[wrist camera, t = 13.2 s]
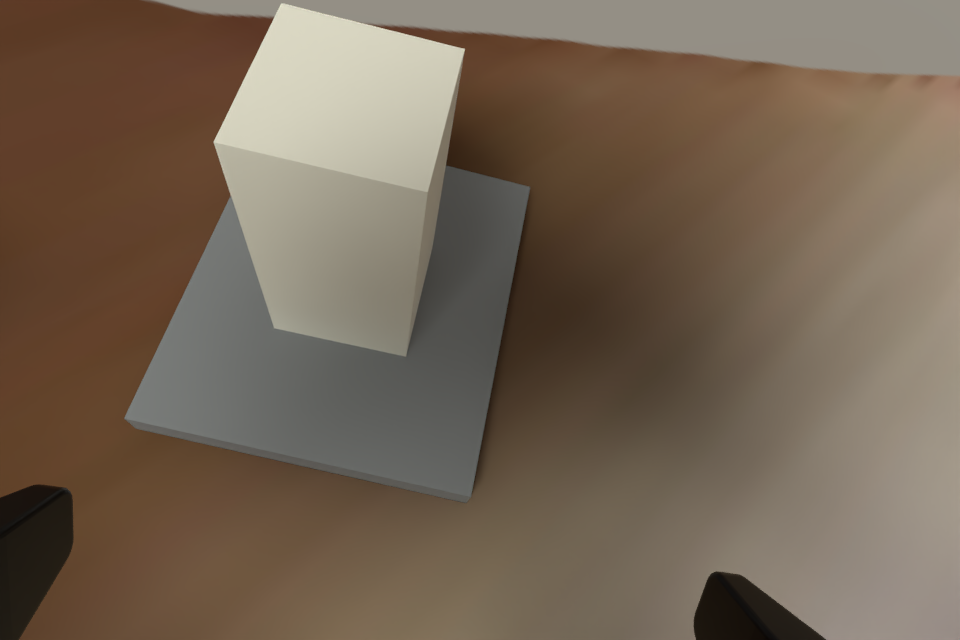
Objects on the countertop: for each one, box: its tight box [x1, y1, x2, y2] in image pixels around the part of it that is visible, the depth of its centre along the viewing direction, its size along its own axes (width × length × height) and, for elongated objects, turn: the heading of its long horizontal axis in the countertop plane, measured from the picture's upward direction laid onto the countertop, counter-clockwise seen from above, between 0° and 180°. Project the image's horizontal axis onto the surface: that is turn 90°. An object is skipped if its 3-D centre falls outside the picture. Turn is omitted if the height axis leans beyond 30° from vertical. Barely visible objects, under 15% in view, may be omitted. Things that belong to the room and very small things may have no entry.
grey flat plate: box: [124, 166, 530, 503], centre depth 25 cm, size 12×14×1 cm
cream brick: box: [214, 3, 465, 357], centre depth 20 cm, size 5×5×10 cm
